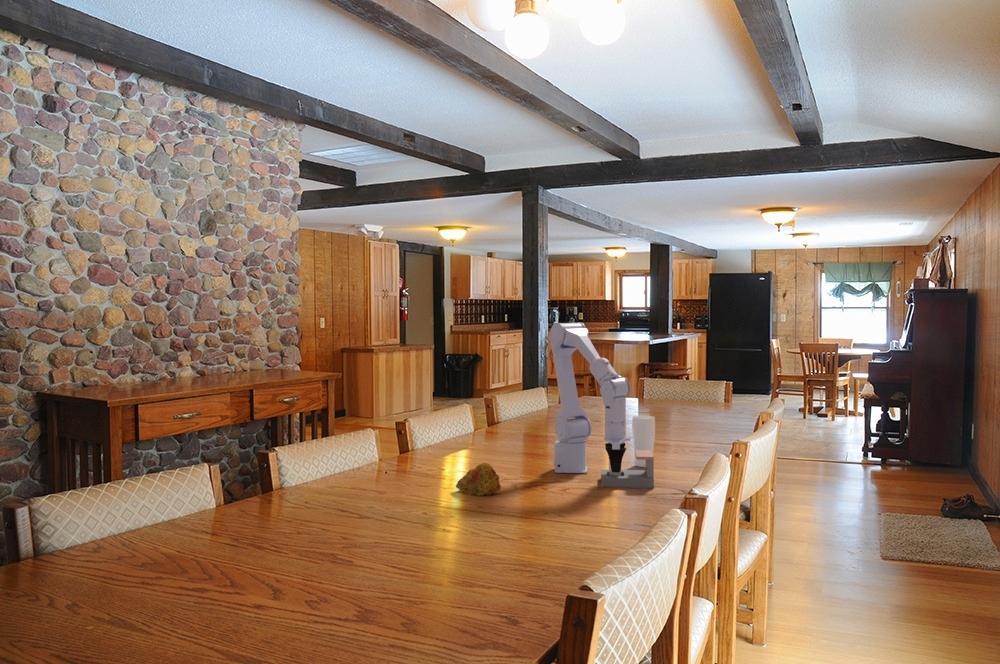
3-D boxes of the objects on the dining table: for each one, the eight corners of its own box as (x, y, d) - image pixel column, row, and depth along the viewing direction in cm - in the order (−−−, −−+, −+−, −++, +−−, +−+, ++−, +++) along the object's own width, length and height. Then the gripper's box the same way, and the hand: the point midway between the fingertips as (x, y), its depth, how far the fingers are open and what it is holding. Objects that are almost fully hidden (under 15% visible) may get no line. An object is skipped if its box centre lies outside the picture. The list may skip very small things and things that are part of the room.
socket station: (601, 486, 196) (600, 456, 196) (601, 478, 206) (600, 449, 206) (653, 488, 194) (653, 457, 194) (651, 479, 204) (651, 449, 204)
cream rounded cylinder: (653, 463, 224) (653, 415, 224) (656, 468, 218) (656, 418, 217) (631, 463, 225) (631, 415, 224) (633, 468, 218) (633, 418, 218)
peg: (620, 479, 199) (620, 450, 198) (608, 479, 199) (608, 450, 199) (621, 477, 202) (621, 448, 202) (609, 476, 203) (609, 448, 202)
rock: (467, 511, 189) (447, 480, 193) (484, 509, 196) (464, 479, 200) (496, 485, 186) (475, 454, 190) (512, 483, 193) (491, 453, 197)
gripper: (631, 426, 192) (631, 476, 193) (628, 417, 207) (629, 465, 207) (604, 425, 193) (604, 476, 194) (603, 417, 208) (604, 464, 208)
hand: (615, 470), depth 201 cm, fingers closed on peg, 3 cm apart
